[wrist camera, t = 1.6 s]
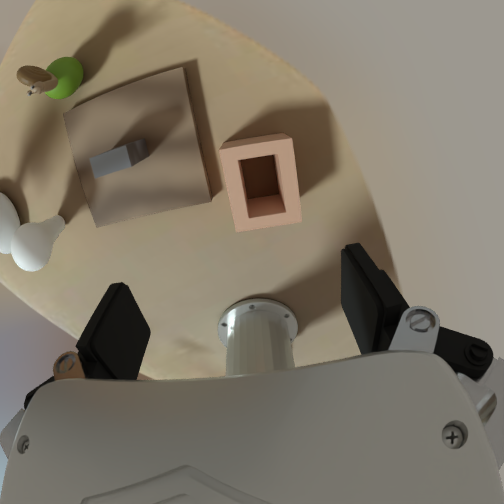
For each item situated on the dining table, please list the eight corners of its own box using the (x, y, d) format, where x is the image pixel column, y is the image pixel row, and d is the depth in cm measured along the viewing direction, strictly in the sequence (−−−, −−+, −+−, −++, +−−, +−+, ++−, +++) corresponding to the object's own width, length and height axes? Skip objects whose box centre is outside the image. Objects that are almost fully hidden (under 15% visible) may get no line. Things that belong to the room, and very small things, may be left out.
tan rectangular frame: (283, 132, 29) (292, 138, 24) (292, 202, 33) (302, 221, 28) (223, 142, 29) (219, 150, 24) (237, 211, 34) (236, 232, 28)
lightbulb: (62, 193, 31) (14, 226, 21) (84, 227, 34) (43, 269, 24) (41, 214, 32) (-4, 249, 23) (61, 245, 35) (23, 287, 25)
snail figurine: (81, 108, 26) (19, 118, 15) (52, 88, 24) (-10, 94, 13) (103, 70, 24) (43, 63, 13) (72, 53, 22) (11, 45, 11)
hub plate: (212, 197, 33) (205, 220, 27) (101, 223, 34) (77, 247, 27) (185, 68, 25) (169, 58, 19) (69, 112, 26) (36, 118, 20)
